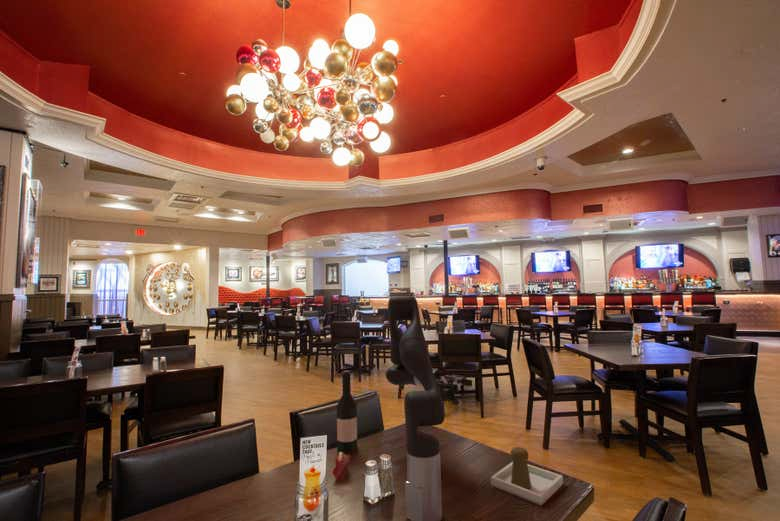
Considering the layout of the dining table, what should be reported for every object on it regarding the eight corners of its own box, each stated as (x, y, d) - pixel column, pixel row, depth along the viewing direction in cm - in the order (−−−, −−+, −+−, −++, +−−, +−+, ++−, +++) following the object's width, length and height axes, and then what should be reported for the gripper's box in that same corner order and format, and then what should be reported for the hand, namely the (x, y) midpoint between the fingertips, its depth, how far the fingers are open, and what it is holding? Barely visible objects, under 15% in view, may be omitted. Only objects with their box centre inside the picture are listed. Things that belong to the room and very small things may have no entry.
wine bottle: (333, 452, 142) (332, 373, 145) (342, 443, 150) (341, 368, 153) (353, 454, 140) (351, 373, 142) (361, 445, 148) (359, 369, 150)
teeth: (348, 457, 121) (302, 459, 120) (349, 482, 120) (302, 485, 119) (351, 445, 131) (308, 447, 131) (351, 468, 130) (308, 470, 130)
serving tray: (541, 505, 104) (540, 496, 105) (490, 485, 116) (490, 477, 116) (563, 484, 116) (562, 475, 116) (515, 467, 127) (514, 459, 127)
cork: (533, 491, 111) (531, 453, 112) (512, 489, 112) (510, 452, 113) (529, 481, 117) (527, 445, 117) (509, 479, 118) (508, 444, 119)
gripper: (416, 371, 136) (452, 378, 124) (440, 365, 145) (475, 371, 134) (416, 392, 135) (453, 401, 123) (440, 384, 145) (476, 392, 133)
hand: (464, 385), depth 129 cm, fingers open, 8 cm apart
